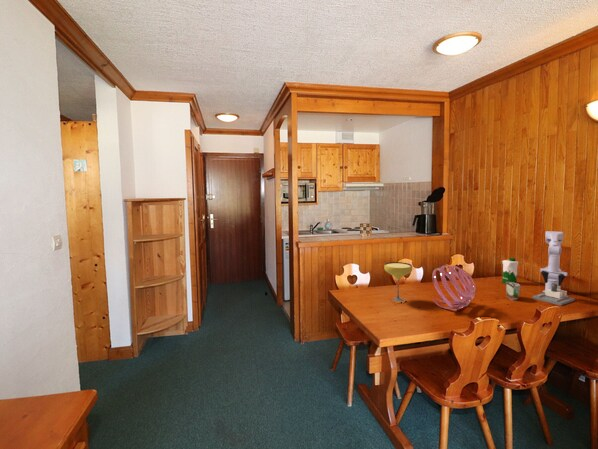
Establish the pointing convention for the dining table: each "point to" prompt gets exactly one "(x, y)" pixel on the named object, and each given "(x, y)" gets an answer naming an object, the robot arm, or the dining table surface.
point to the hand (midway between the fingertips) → (552, 284)
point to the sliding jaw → (554, 292)
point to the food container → (512, 290)
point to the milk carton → (510, 270)
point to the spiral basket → (468, 287)
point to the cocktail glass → (398, 272)
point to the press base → (553, 299)
